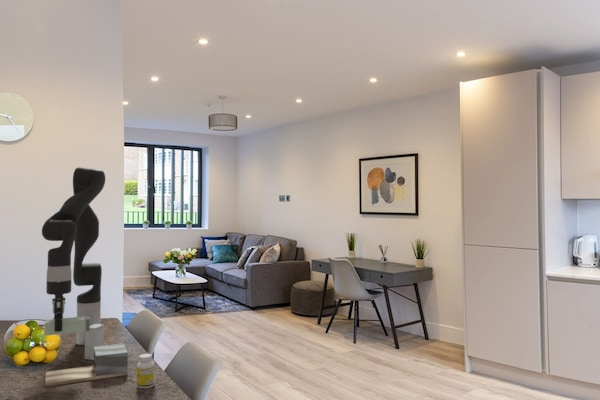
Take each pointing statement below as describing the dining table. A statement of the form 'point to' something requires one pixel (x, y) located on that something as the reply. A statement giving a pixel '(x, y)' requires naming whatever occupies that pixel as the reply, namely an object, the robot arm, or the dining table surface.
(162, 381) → the dining table surface
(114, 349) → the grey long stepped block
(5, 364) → the dining table surface
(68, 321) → the grey-green rectangular block
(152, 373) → the supplement bottle
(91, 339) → the skincare box
